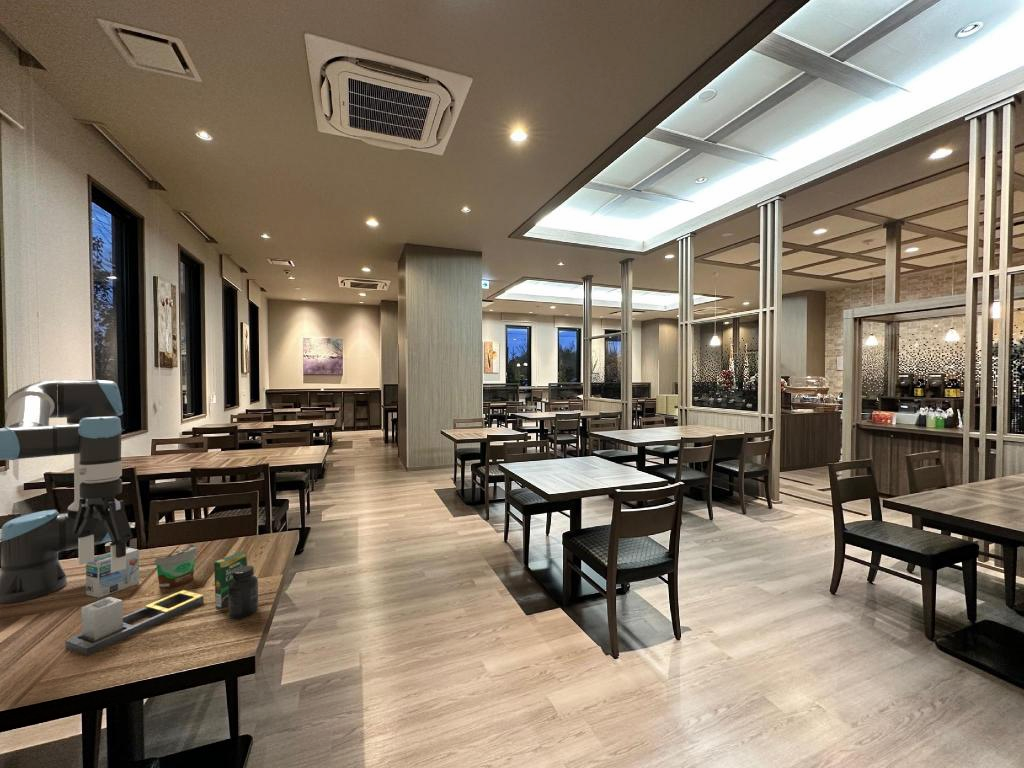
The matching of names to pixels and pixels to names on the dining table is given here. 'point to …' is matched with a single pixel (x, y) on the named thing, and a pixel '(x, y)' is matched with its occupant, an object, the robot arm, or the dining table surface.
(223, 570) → the coffee box
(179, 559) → the food container
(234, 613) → the supplement bottle
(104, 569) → the light bulb box
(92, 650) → the rail
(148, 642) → the dining table surface
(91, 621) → the white rectangular block
